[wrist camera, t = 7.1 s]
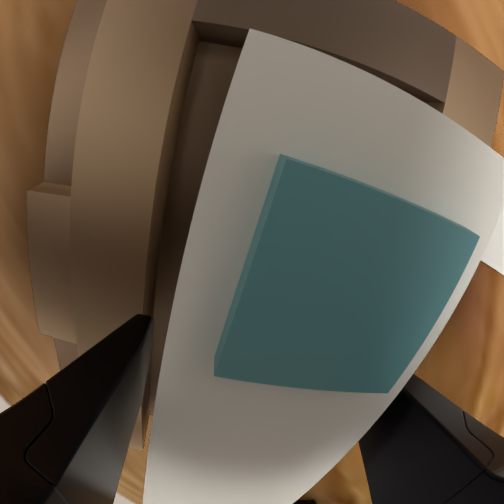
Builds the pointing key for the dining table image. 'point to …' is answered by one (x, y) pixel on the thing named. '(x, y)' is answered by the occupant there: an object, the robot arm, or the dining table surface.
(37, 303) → the cradle
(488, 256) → the strip
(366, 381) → the white box
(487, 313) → the dining table surface
